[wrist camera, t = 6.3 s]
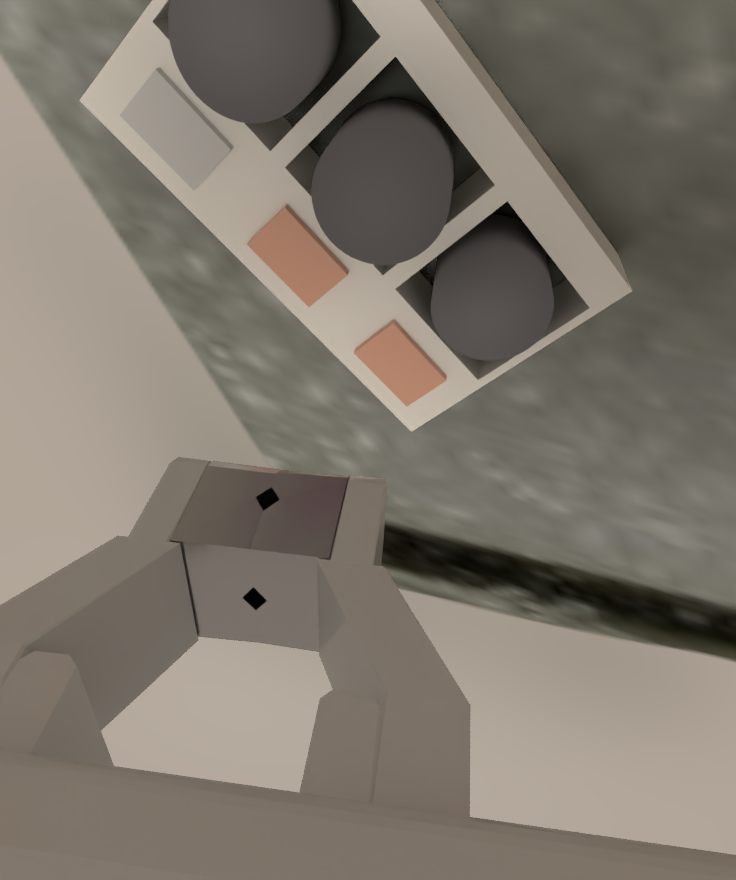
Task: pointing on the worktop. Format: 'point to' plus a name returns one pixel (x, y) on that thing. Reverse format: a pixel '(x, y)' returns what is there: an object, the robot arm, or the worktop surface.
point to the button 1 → (254, 52)
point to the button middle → (385, 182)
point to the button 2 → (492, 291)
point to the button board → (294, 222)
